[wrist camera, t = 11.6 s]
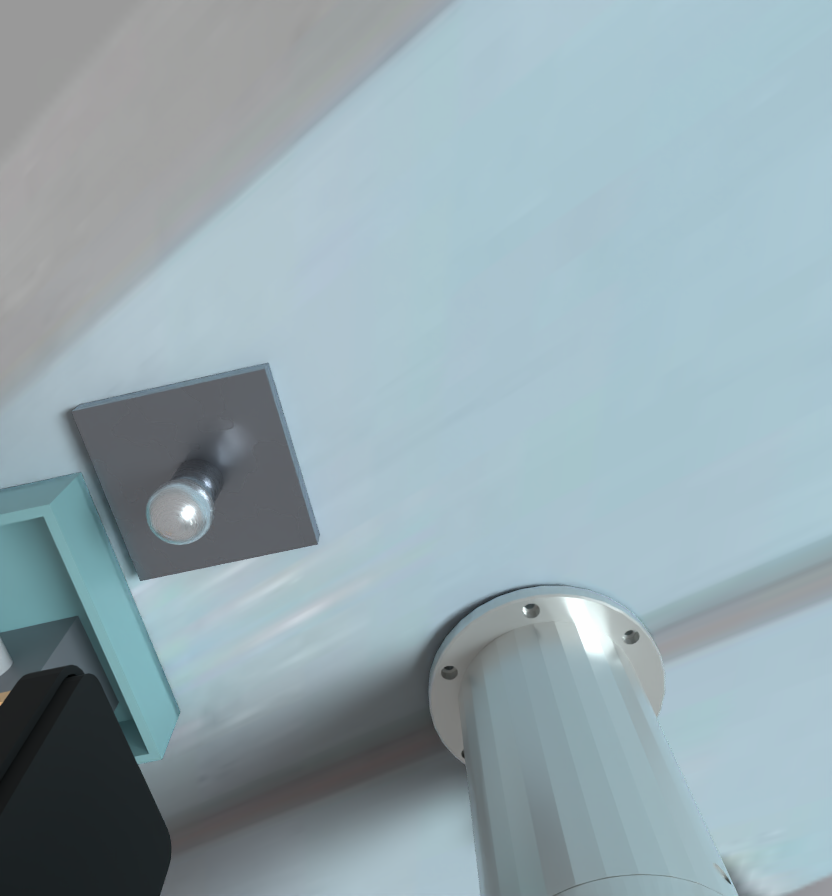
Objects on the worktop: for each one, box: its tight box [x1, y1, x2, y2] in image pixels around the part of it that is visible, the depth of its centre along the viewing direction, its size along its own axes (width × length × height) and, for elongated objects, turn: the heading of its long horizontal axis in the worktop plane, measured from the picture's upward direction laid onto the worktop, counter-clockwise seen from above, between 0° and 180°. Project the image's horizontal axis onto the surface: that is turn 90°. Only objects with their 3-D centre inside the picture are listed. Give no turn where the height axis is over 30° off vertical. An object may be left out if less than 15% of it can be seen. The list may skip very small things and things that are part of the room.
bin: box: [0, 472, 180, 764], centre depth 38 cm, size 15×11×4 cm
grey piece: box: [71, 363, 320, 581], centre depth 34 cm, size 9×9×6 cm
